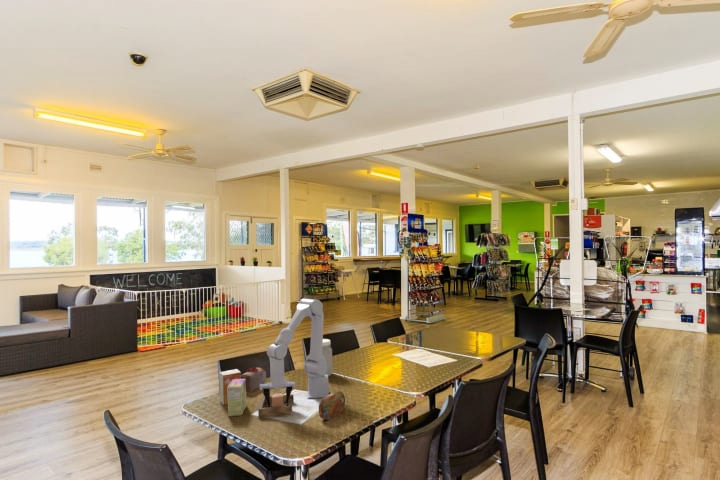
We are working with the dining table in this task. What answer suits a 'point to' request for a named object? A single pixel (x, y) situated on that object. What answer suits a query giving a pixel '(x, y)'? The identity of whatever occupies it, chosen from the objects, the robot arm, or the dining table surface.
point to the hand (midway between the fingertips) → (278, 405)
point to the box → (236, 397)
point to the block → (278, 400)
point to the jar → (327, 355)
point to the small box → (227, 383)
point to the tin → (331, 405)
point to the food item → (254, 378)
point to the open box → (275, 408)
